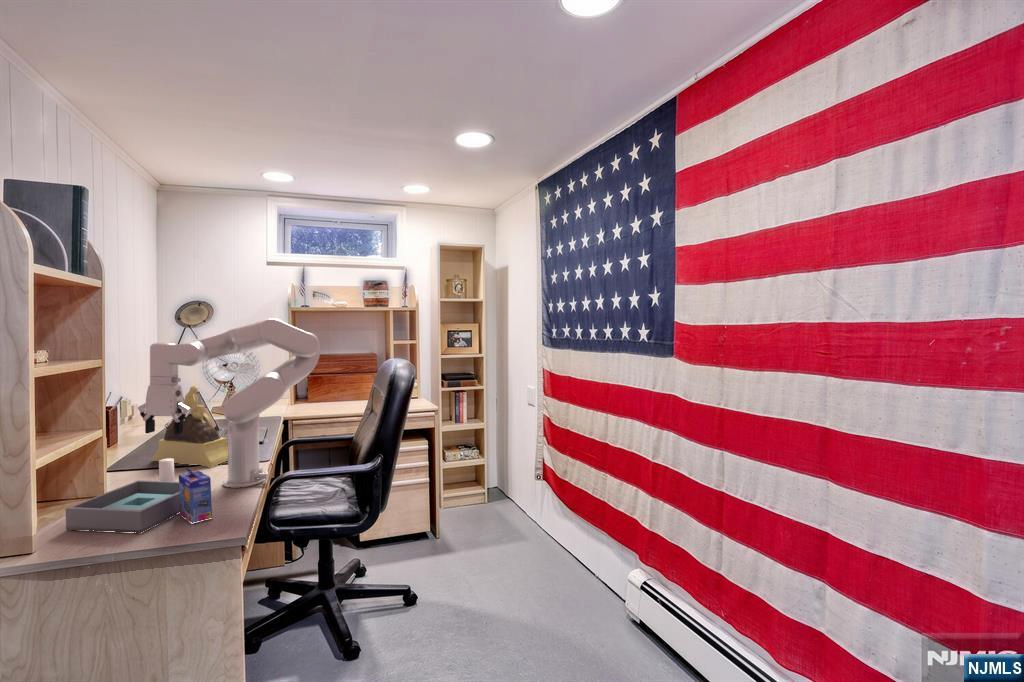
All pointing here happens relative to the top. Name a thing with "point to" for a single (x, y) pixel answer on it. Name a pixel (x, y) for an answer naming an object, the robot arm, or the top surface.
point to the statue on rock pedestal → (193, 438)
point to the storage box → (127, 508)
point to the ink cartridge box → (195, 496)
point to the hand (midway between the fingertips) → (164, 433)
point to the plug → (166, 469)
